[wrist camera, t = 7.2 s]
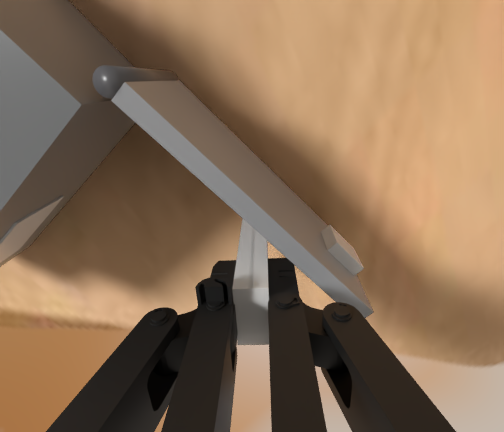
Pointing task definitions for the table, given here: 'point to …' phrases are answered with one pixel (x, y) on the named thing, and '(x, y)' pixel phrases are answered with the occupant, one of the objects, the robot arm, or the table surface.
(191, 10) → the table surface
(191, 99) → the side door
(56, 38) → the camera box
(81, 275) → the table surface
